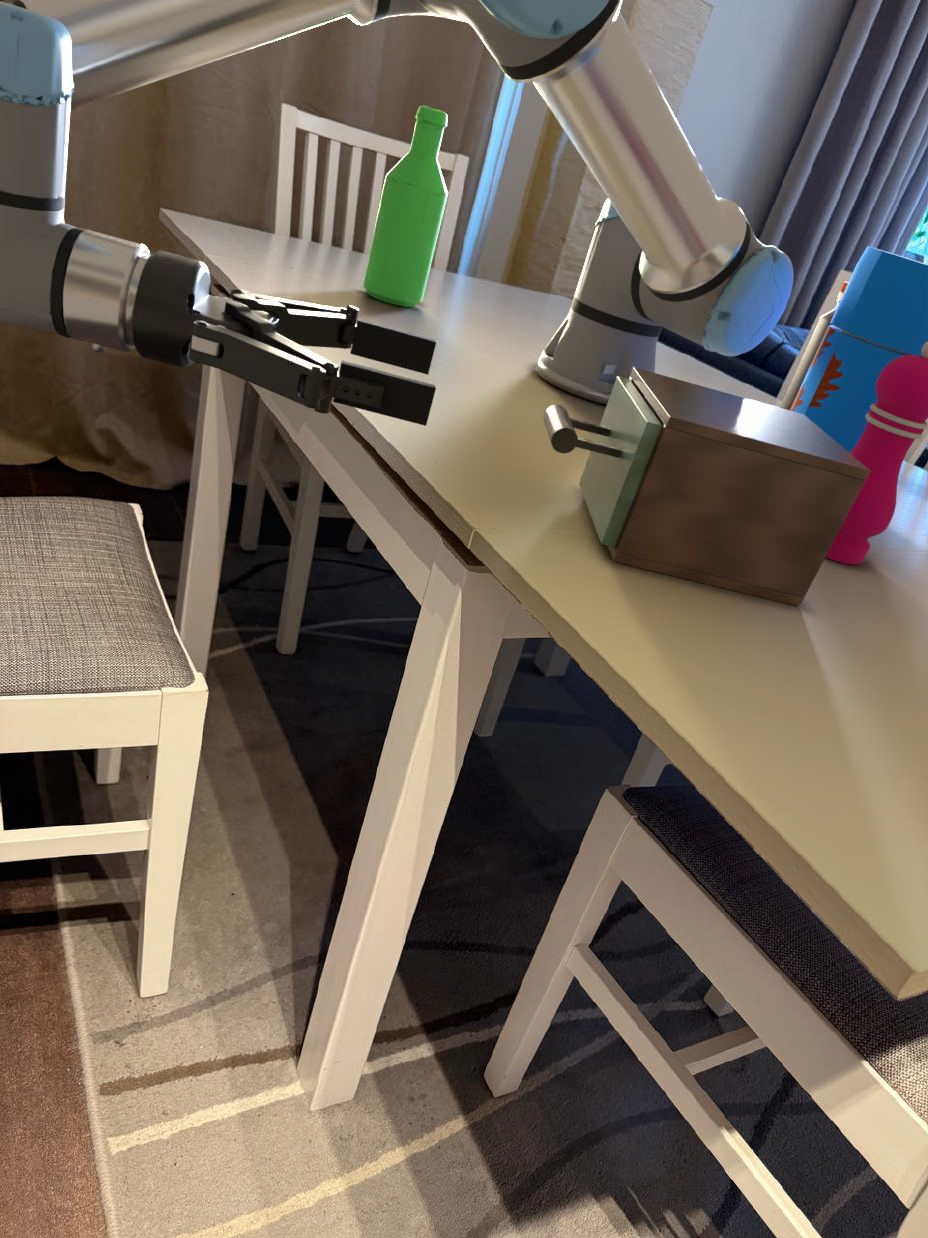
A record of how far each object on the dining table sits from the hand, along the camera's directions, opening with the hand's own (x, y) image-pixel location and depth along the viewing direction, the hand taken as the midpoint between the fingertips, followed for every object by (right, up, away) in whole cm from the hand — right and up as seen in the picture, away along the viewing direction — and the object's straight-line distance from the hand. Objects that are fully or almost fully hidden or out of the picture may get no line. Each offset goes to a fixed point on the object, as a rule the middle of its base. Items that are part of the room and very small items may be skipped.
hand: (432, 379), depth 67 cm
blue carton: (+41, -4, +33) cm, 52 cm away
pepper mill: (+37, -11, +17) cm, 42 cm away
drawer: (+17, -10, +6) cm, 21 cm away
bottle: (-8, +29, +63) cm, 70 cm away
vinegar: (+51, +10, +62) cm, 81 cm away
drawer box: (+21, -12, +7) cm, 25 cm away
